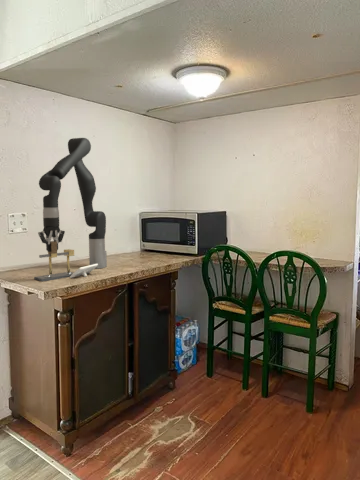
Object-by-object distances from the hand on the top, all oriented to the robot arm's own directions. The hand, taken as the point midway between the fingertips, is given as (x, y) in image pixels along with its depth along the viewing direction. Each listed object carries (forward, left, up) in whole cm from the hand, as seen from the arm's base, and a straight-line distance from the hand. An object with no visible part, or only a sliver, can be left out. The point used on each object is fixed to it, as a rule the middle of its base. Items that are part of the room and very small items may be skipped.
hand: (52, 251), depth 186 cm
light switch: (-15, +5, -15) cm, 22 cm away
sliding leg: (0, -1, -12) cm, 12 cm away
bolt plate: (-3, -2, -14) cm, 15 cm away
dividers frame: (-2, -1, -13) cm, 13 cm away
